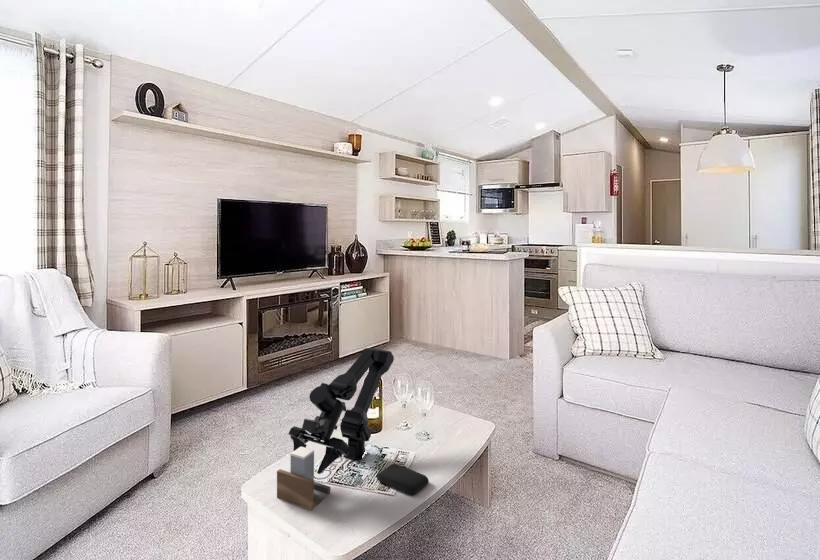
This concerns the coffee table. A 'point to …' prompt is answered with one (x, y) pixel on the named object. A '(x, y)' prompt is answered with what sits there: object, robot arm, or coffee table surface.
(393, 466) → the carrying case or bag
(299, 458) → the white tall block
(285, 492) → the stand
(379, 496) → the coffee table surface
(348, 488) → the coffee table surface
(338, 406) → the robot arm
